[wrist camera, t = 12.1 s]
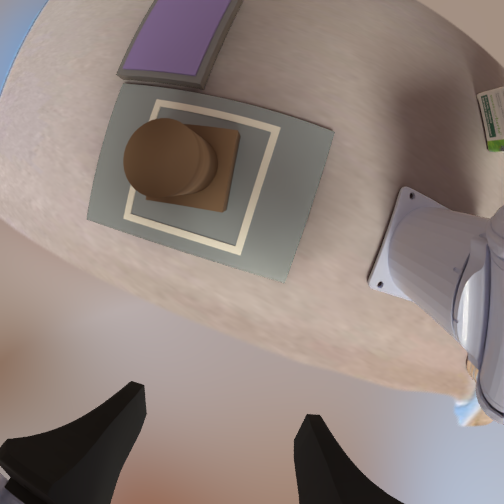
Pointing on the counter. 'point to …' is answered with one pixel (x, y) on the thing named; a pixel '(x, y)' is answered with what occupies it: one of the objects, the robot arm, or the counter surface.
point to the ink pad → (178, 41)
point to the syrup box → (493, 117)
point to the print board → (242, 188)
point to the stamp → (182, 163)
